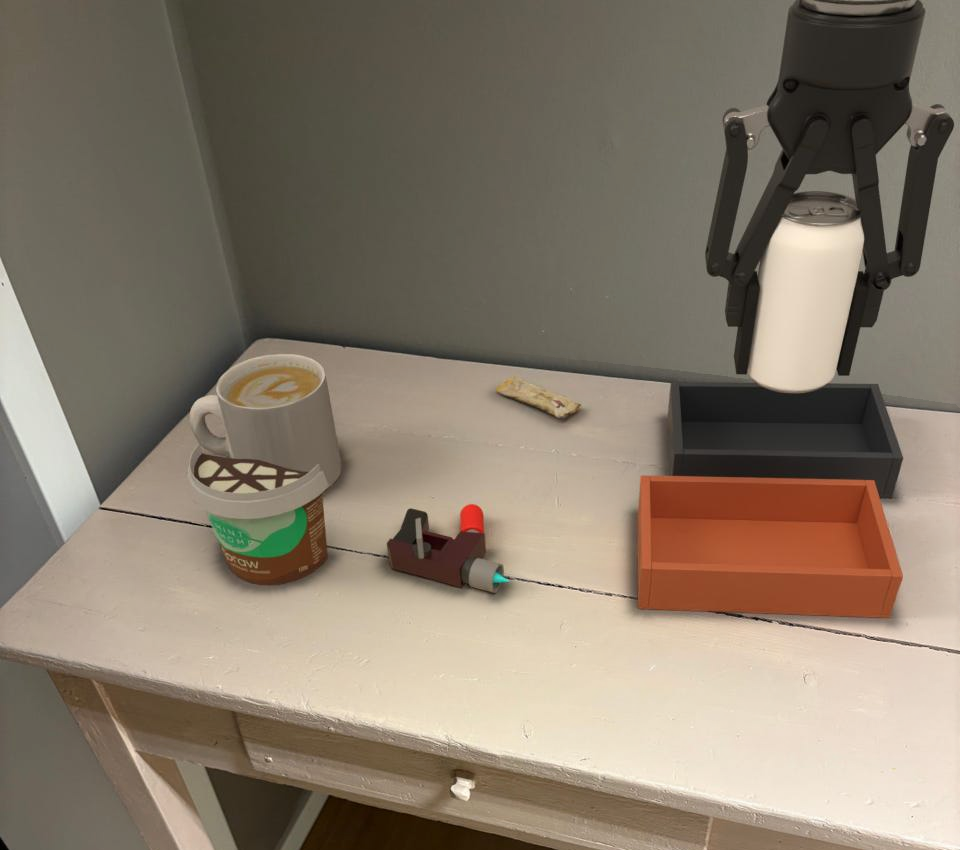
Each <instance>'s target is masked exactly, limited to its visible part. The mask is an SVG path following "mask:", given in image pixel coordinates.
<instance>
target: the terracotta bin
mask: <svg viewBox="0 0 960 850" xmlns="http://www.w3.org/2000/svg"><path fill="white" fill-rule="evenodd" d="M639 482H640V483H639V493H638V507H637V585H638V586H637V590H638V591H637V608H638V610H661V611H663V610H664V611H685V612H686V611H691V612H713V613H714V612H715V613H716V612H717V613H719V612H720V613H743V614H745V613H746V614H768V615H769V614H771V615H772V614H773V615H798V616H802V615H803V616H826V617H851V618H853V617H855V618H857V617H859V618H880V619H881V618H882V619H885V618H886V619H890V618H891V615H892V612H893V609H894V605H895V603H896V599H897V596H898V593H899V590H900V587H901V584H902V580H903V578H904V575H903V572H902V568H901V565H900V561H899V558H898V555H897V552H896V548H895V545H894V541H893V538H892V535H891V532H890V528H889V525H888V522H887V518H886V514H885V511H884V508H883V504H882V501H881V498H879V494H878V491H877V488H876V484H875V481H874V480H842V479H794V478H746V477H698V476H670V475H647V474H645V475H643V474H641V475H640V480H639Z"/></svg>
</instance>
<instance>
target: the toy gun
mask: <svg viewBox="0 0 960 850" xmlns="http://www.w3.org/2000/svg"><path fill="white" fill-rule="evenodd" d="M484 519H485V517H484V512H483V509H482V508H481V506H479V505H477V504H475V503H468V504H466V505H465V506H463V507H462V508H461V510H460V512H459V528H460V529H459V532H458V533H457V535H456V537H454V538H453V537H452V536H449V535H444V534H441V533H436V532H433V531H430V523H429V515H428V513H427V512H426V511H423V510H420V509H417V508H416V509H415V508H411V507H410V508H407V510H406V512H405V515H404V518H403V520H402V523H401V526H400V529H399V530H398V532H397V533H396V534H395V535H394V537H393V538H389V540H387V542H386V549H387V555H388V562H389V564H390V566H391V568H392V569H393V570H395V571H400V572H405V573H408V574H412V575H415V576H419V577H422V578H427V579H430V580H435V581H437V582H439V583H444V584H446V585H447V584H448V585H450V586H455V587H459V588H462V587H463V586H464V585H465V583H466V584H469V586H470V587H472V588H475V589H479V590H483V591H486V592H490V593H497V592H498V591H499V589H500V587H501V585H502V583H508V582H511V581H510V580H509V579H507V578H506V577H504V573H505V568H504V564H502V563H500V562H496V561H493V560H488V559H484V558H483V557H484V556H485V554H486V552H487V549H486V533H485V521H484Z"/></svg>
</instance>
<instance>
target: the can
mask: <svg viewBox="0 0 960 850" xmlns="http://www.w3.org/2000/svg"><path fill="white" fill-rule="evenodd" d="M781 216H782V218H781V220H780V222H779V224H778V226H777V227H776V229H775V231H774V233H773V235H772V237H771V239H770V241H769V243H768V245H767V247H766V249H765V251H764V253H763V255H762V257H761V259H760V261H759V264H758V271H757V275H758V281H759V286H760V291H759V298H758V305H757V311H756V318H755V324H754V331H753V337H752V344H751V350H750V357H749V363H748V370H747V375H749V377H750V379H751V380H752V382H753V383H757V384H758V385H760V386H762V387H764V388H767V389H769V390H773V391H776V392H782V393H807V392H811V391H815V390H818V389H820V388H822V387H823V386H825V385H826V384H827V383H831V381H832V380H833V379H834V378H835V375H836V372H837V369H836V368H837V364H838V360H839V355H840V351H841V347H842V342H843V338H844V333H845V329H846V324H847V320H848V315H849V311H850V306H851V302H852V297H853V292H854V288H855V283H856V279H857V274H858V271H860V270H859V269H860V265H861V260H862V257H863V246H864V232H863V226H862V220H861V216H862V214H859V211H858V208H857V203H856V200H855V197H852V196H849V195H846V194H843V193H838V192H834V191H825V190H807V191H798V192H797V191H796V192H794V194H793V196H792V198H791V200H790V202H789V204H788V206H787V208H786V210H785V212H784V214H782V215H781Z"/></svg>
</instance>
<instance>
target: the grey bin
mask: <svg viewBox="0 0 960 850" xmlns="http://www.w3.org/2000/svg"><path fill="white" fill-rule="evenodd" d="M669 384H670V385H669V397H668V407H667V419H666V423H667V444H668V446H667V447H668V466H669V476H698V477H746V478H794V479H842V480H874V481H875V484H876V488H877V491H878V494H879V498H880V499H892V498H893V495H894V492H895V488H896V485H897V482H898V479H899V475H900V471H901V468H902V466H903V465H902V464H903V461H904V455H903V453H902V450H901V447H900V443H899V441H898V438H897V435H896V432H895V429H894V427H893V424H892V421H891V418H890V415H889V411H888V409H887V406H886V403H885V399H884V397H883V394H882V391H881V389H880V386H879V383H835V382H834V383H831V382H828V383H827V384H826V385H825V386H823V387H822V388H820V389H818V390H815V391H811V392H807V393H782V392H776V391H773V390H769V389H767V388H764V387H762V386H760V385H758V384H757V383H756V382H739V381H738V382H731V381H729V382H728V381H727V382H725V381H712V382H711V381H670V383H669Z"/></svg>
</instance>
